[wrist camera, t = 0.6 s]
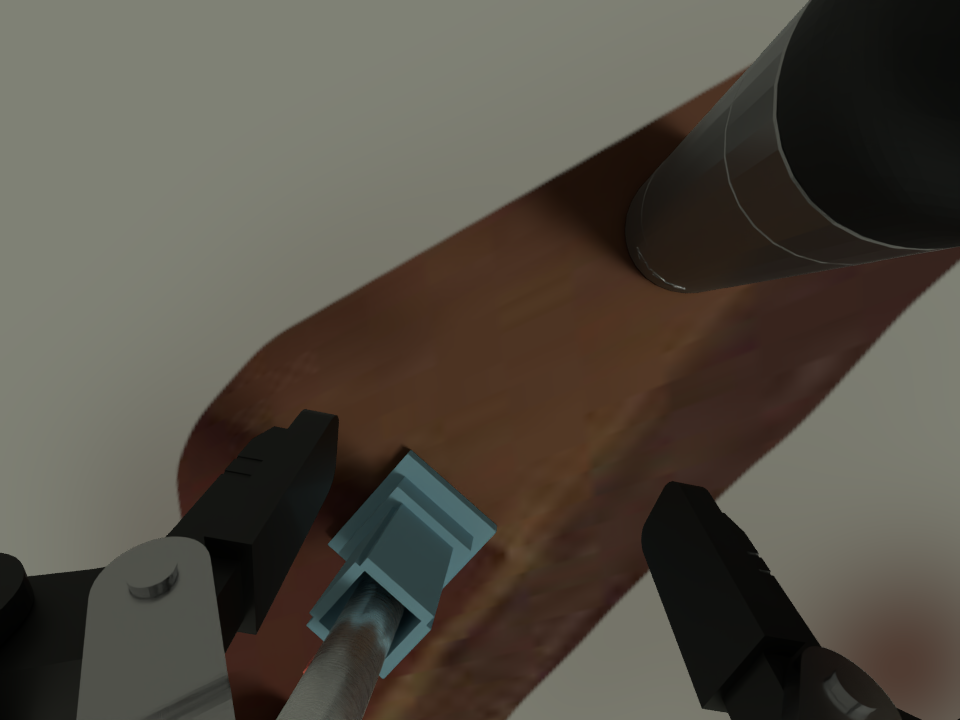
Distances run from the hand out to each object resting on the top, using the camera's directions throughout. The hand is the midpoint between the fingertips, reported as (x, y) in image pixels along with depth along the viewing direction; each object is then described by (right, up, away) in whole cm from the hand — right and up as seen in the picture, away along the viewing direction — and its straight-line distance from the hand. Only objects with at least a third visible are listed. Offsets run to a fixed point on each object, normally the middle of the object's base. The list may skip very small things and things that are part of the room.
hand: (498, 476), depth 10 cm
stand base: (-6, -11, +23) cm, 26 cm away
